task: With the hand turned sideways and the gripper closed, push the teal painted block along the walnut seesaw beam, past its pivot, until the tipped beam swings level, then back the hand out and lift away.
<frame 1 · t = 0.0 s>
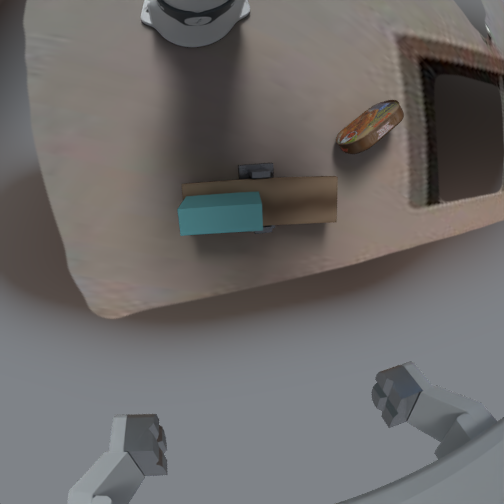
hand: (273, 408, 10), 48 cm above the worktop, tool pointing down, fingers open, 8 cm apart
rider: (223, 205, 52), point 4 cm above the worktop, tilted 9°, touching beam
beam stand: (256, 196, 57), on the worktop
beam: (261, 201, 53), point 4 cm above the worktop, hinge at 8.7°, touching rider
tin: (359, 125, 55), on the worktop
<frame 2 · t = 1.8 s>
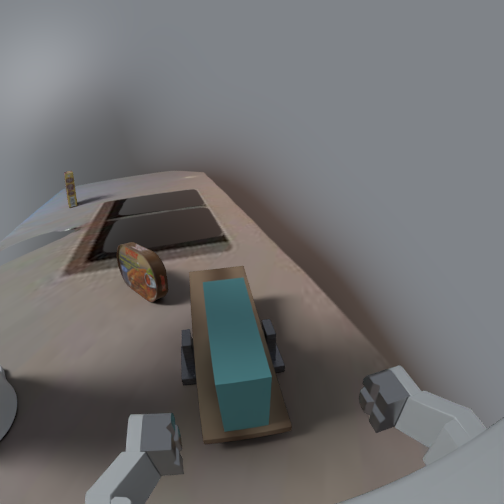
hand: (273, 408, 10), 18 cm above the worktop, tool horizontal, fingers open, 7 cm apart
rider: (236, 377, 30), point 4 cm above the worktop, tilted 9°, touching beam
candy box: (73, 205, 123), on the worktop
beam stand: (230, 362, 37), on the worktop
beam: (228, 339, 36), point 4 cm above the worktop, hinge at 8.7°, touching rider
tin: (145, 291, 54), on the worktop
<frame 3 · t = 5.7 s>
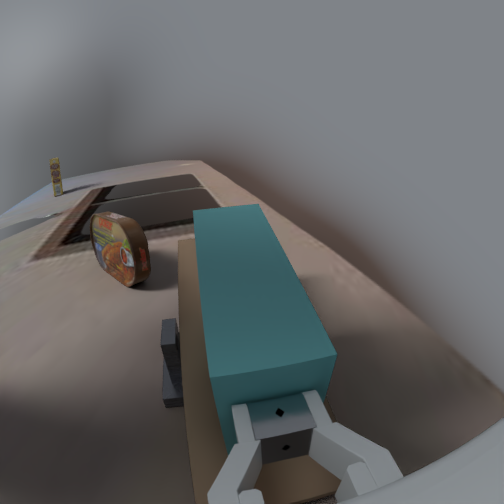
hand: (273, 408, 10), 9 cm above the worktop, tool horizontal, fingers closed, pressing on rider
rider: (247, 370, 18), point 4 cm above the worktop, tilted 9°, touching gripper
candy box: (59, 194, 110), on the worktop
beam stand: (240, 370, 24), on the worktop
beam: (236, 333, 22), point 4 cm above the worktop, hinge at 8.5°
tin: (123, 275, 41), on the worktop
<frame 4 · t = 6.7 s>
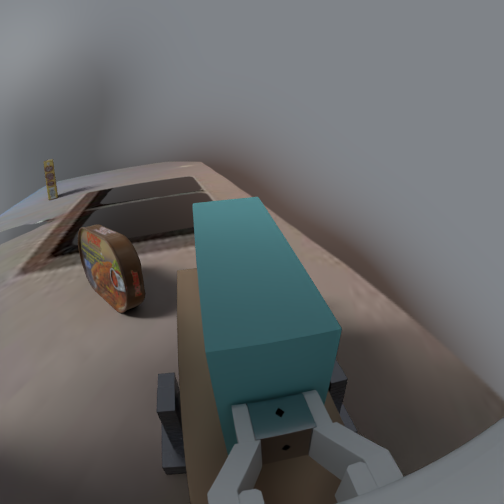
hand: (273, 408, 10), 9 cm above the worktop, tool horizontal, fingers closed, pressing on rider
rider: (248, 366, 18), point 5 cm above the worktop, tilted 6°, touching beam, gripper
candy box: (53, 198, 104), on the worktop
beam stand: (254, 427, 19), on the worktop
beam: (251, 391, 17), point 4 cm above the worktop, hinge at 5.6°, touching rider
tin: (115, 296, 36), on the worktop
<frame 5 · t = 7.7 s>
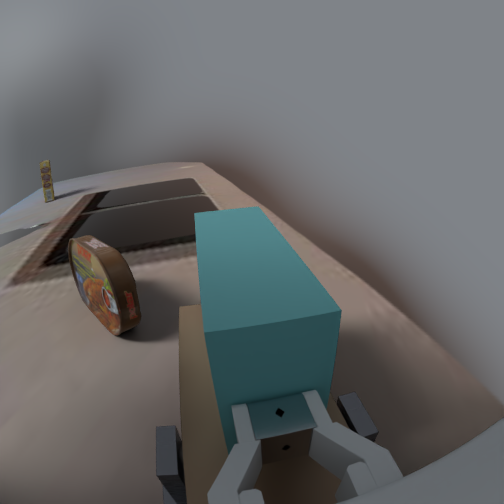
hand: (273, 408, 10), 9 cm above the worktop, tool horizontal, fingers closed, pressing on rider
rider: (251, 374, 17), point 5 cm above the worktop, touching gripper
candy box: (50, 200, 101), on the worktop
beam stand: (267, 476, 15), on the worktop
beam: (266, 447, 13), point 4 cm above the worktop, hinge at -0.2°
tin: (109, 314, 32), on the worktop
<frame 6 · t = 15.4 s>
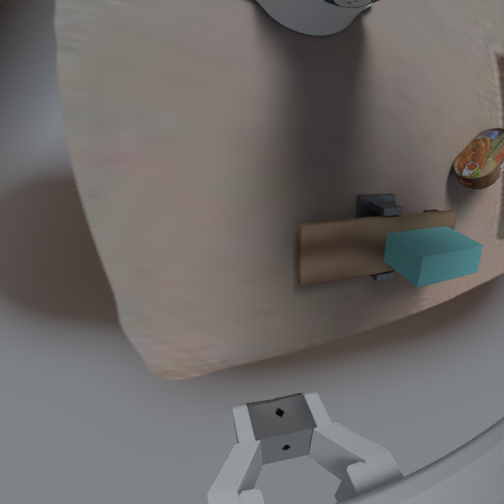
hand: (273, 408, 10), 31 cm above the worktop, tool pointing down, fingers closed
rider: (417, 242, 41), point 5 cm above the worktop, touching beam
beam stand: (372, 233, 45), on the worktop
beam: (385, 242, 41), point 4 cm above the worktop, hinge at -0.2°, touching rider
tin: (469, 152, 43), on the worktop
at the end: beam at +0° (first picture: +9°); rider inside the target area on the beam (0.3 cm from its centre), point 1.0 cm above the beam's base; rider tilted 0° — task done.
